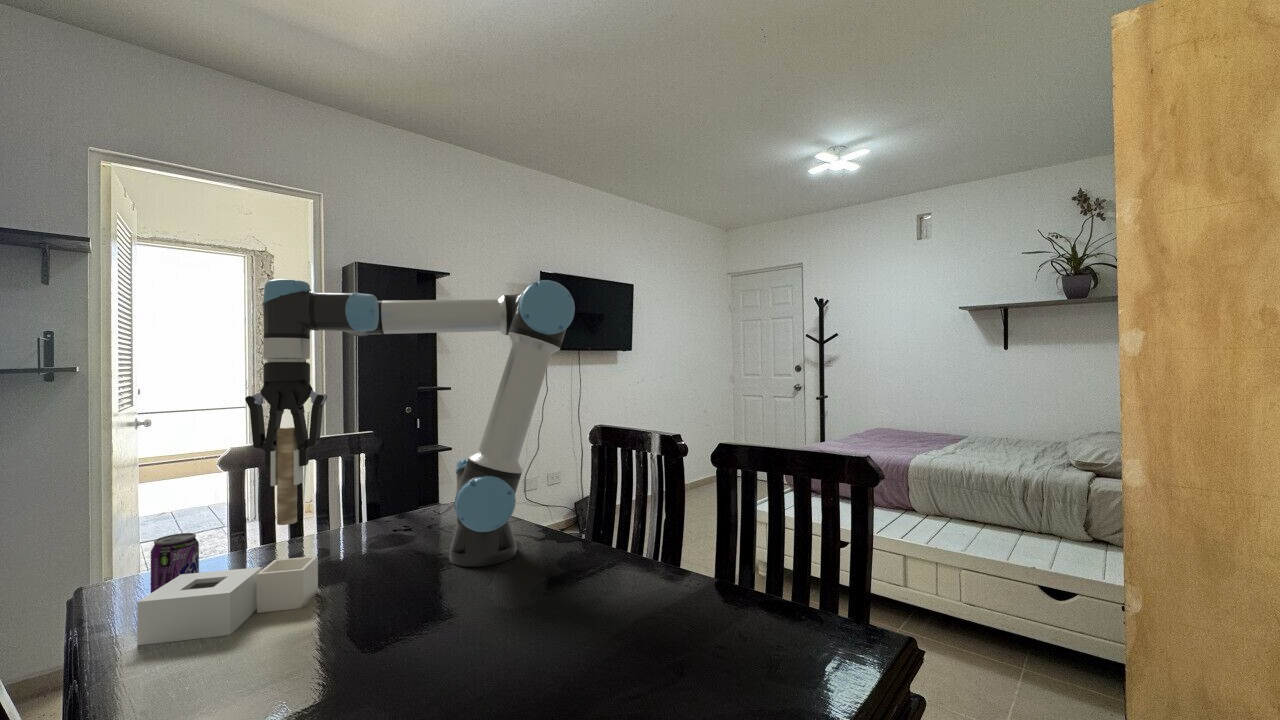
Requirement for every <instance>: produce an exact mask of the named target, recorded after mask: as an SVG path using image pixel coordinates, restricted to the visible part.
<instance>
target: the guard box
mask: <svg viewBox="0 0 1280 720" xmlns="http://www.w3.org/2000/svg"><path fill="white" fill-rule="evenodd" d="M261 570H263V567H262V566H261V567H249V568H238V569H237V568H236V569H225V570H215V571H213V570H212V571H205V572H204V571H203V572H199V573H191V574H181V575H179V576H178V577H176V578H175V579H173V580H171V581H170V582H168V583H167V584H165V585H163V586H162V587H160V588H159V589H157V590H155V591H154V592H152V593H151V592H150V593H149V594H148V595H146V596H144V597H142V598H141V599H139V600H138V601H137V602H136V603H137V605H136V606H137V607H136V608H137V611H136V613H137V614H136V617H137V618H136V621H137V623H136V624H137V626H136V627H137V628H136V630H137V635H136V636H137V641H136V642H137V644H136V645H137V646H143V645H144V646H145V645H153V644H161V643H169V642H178V641H179V642H180V641H186V640H197V639H205V638H213V637H224V636H230V635H232V634H233V633H234V632H235V631H236V630H237V629H238V628H239V627H240V626H241V625H242V624H243V623H245V622H246V620H247V619H249V618H250V616H252V615H253V614H254V613H255V612H257V574H258V573H259V572H260V571H261Z"/></svg>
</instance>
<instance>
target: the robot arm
mask: <svg viewBox="0 0 1280 720" xmlns="http://www.w3.org/2000/svg"><path fill="white" fill-rule="evenodd" d="M262 306H263V307H262V309H263V313H262V316H263V344H262V345H263V350H262V352H263V356H262V359H264V360H266V361H267V362H264V363H263V369H262V370H263V371H262V373H263V386H262V388H261V389H260V391H259V392H258V393H256V394H253V395H247V396H246V397H245V398H244V401H245V402H246V405H247V406H248V408H249V415H250V425H251V426H250V427H251V436H252V437H251V439H252V446H253V448H255V449H259V450H260V449H261V450H263V451H264V466H265V468H267V469H268V468H270V487H277V429H278V428H281V423H282V418H283V414H284V413H285V410H289V411H290V415H291V416H292V421H293V426H294V427H295V433H296V438H297V449H296V450H294V485H297V486H298V485H300V484H302V483H304V467H305V466H308V465H309V462H310V460H309V459H310V457H309V456H310V455H309V454H310V452H309V451H310V448H311V447H313V446H316V445H318V444H319V443H320V442H321V433H322V424H323V423H322V421H323V410H324V405H325V403H326V401H327V399H328V395H327V394H325V393H322V394H321V393H319V392H317V391H314V389H313V386H312V385H311V363H309V362H307V360H310V358H311V331H315V332H316V331H323V332H324V331H325V332H326V331H327V332H328V331H329V332H331V331H332V332H333V331H334V332H344V333H348V334H349V335H352V336H356V337H367V336H368V335H393V334H395V335H396V334H397V335H398V334H399V335H400V334H427V333H428V334H432V333H433V334H435V333H440V334H441V333H473V332H474V333H475V332H476V333H477V332H478V333H479V332H482V333H483V332H500V333H501V334H502V335H504V336H509V338H510V341H511V348H510V351H509V354H508V357H507V360H506V363H505V366H504V370H503V372H502V375H501V378H500V382H499V386H498V388H497V391H496V394H495V397H494V401H493V404H492V407H491V410H490V413H489V417H488V420H487V423H486V426H485V429H484V432H483V435H482V438H481V442H480V445H479V446H478V447H479V448H478V450H477V451H476V452H475V453H473V454H471V455H469V456H468V458H461V459H459V460H457V462H456V470H455V474H456V491H455V493H456V494H455V497H454V502H453V503H454V511H455V513H456V528H455V531H454V534H453V537H452V540H451V543H450V547H449V558H448V559H449V561H450V563H451V564H454V565H456V566H459V567H469V568H471V567H472V568H475V567H476V568H478V567H486V566H492V565H498V564H500V563H501V564H502V563H503V562H506V561H509V560H511V559H512V558H514V557H515V556H516V554H517V540H516V538H515V535H514V532H513V530H512V525H511V524H510V518H511V517H512V515H513V514H514V512H515V511H514V510H515V508H516V500H517V499H516V492H517V491H518V486H519V483H520V480H521V476H522V474H523V469H522V467H521V465H520V462H519V459H520V456H521V453H522V450H523V447H524V443H525V440H526V437H527V434H528V430H529V428H530V427H529V426H530V424H531V421H532V418H533V414H534V410H535V407H536V404H537V402H538V398H539V394H540V391H541V389H542V386H543V382H544V379H545V375H546V372H547V369H548V366H549V363H550V360H551V357H552V355H553V354H555V353H557V352H559V351H561V347H562V345H563V341H564V338H565V334H566V331H567V328H569V327H570V325H571V323H572V322H573V320H574V317H575V313H576V312H575V311H576V305H575V300H574V298H573V296H572V294H571V293H570V291H569V290H568V289H567V288H566V287H565V286H564V285H562V284H561V283H559V282H557V281H555V280H554V281H553V280H549V279H542V280H537V281H534V282H531V283H530V284H529V285H527V286H526V287H525V288H524V289H523V291H522V292H521V293H516V294H503V295H501V296H500V297H498V299H495V298H494V299H491V298H490V299H417V300H416V299H415V300H414V299H413V300H411V299H410V300H408V299H407V300H406V299H405V300H399V299H398V300H397V299H395V300H393V299H391V300H378V297H376V296H375V294H372V293H371V294H370V293H360V292H320V291H318V292H317V291H316V292H315V291H312V289H311V285H310V283H308V282H307V281H303V280H299V279H288V278H287V279H285V278H276V279H270V280H268V281H266V283H264V288H263V301H262ZM309 398H310V402H311V404H312V405H311V412H310V422H309V434H308V428H307V423H306V417H305V407H304V405H305V403H306V402H307V401H308V399H309ZM264 401H266V402H267V403H268V404H269V405H270V407H269V411H268V413H269V418H268V425H267V430H266V428H265V417H264V416H265V415H264V409H263V408H264V407H263V404H264Z"/></svg>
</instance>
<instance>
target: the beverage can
mask: <svg viewBox="0 0 1280 720" xmlns="http://www.w3.org/2000/svg"><path fill="white" fill-rule="evenodd" d="M196 536H197V535H196V533H193V532H182V533H175V534H174V533H173V534H170V535H165V536H161V537H159V538H157V539H154V540H153V543H154V544H153V546H152V548H151V550H150V594H151V593H152V592H154V591H155V590H157V589H159V588H160V587H162V586H163V585H165V584H167V583H168V582H170V581H171V580H173V579H175V578H176V577H178V576H179V575H181V574H191V573H200V543H199V541H198V540H197V538H196Z"/></svg>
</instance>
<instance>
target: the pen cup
mask: <svg viewBox="0 0 1280 720" xmlns="http://www.w3.org/2000/svg"><path fill="white" fill-rule="evenodd" d="M318 559H319V558H318V556H317V555H316V556H303V557H293V558H282V559H274V560H272V561H271V562H270V563H269V564H268V565H266V566H265V567H264V568H262V570H261V571H260V572H259V573H258V574H257V610H256V613H257V614H259V613H267V612H268V613H269V612H279V611H285V610H286V611H287V610H296V609H305V607H306V606H307V605H308V603H310V601H311V600H312V599H313V598H314V597H315V596H316V594H317V593H318V592H319V565H318V563H319V562H318Z"/></svg>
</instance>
